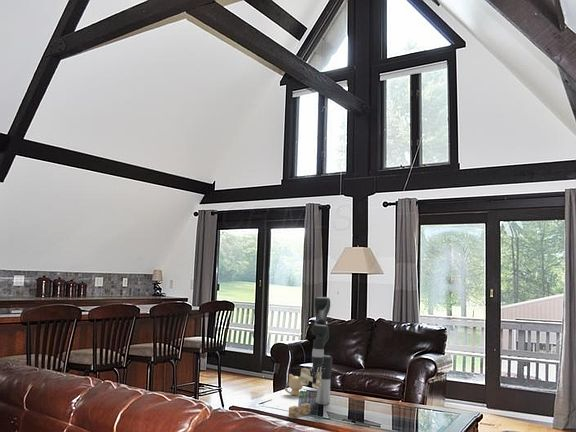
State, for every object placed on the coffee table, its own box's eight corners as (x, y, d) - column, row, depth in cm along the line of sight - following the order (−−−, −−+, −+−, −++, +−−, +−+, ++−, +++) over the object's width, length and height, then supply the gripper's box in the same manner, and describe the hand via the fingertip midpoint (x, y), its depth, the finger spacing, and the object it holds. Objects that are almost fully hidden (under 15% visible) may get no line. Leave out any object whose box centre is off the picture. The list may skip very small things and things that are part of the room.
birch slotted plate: (303, 383, 340) (304, 368, 341) (320, 387, 331) (321, 371, 332) (300, 384, 337) (301, 368, 338) (317, 388, 328) (318, 372, 329)
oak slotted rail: (305, 412, 337) (306, 402, 338) (310, 413, 335) (310, 404, 335) (288, 417, 323) (289, 407, 324) (292, 418, 321) (293, 408, 322)
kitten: (307, 395, 383) (308, 374, 385) (302, 398, 374) (303, 377, 376) (289, 392, 389) (290, 372, 391) (283, 394, 380) (285, 374, 382)
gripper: (319, 354, 341) (317, 380, 339) (306, 355, 330) (304, 383, 328) (328, 355, 337) (327, 383, 335) (316, 357, 326) (314, 385, 324)
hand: (316, 382), depth 331 cm, fingers closed on birch slotted plate, 3 cm apart
